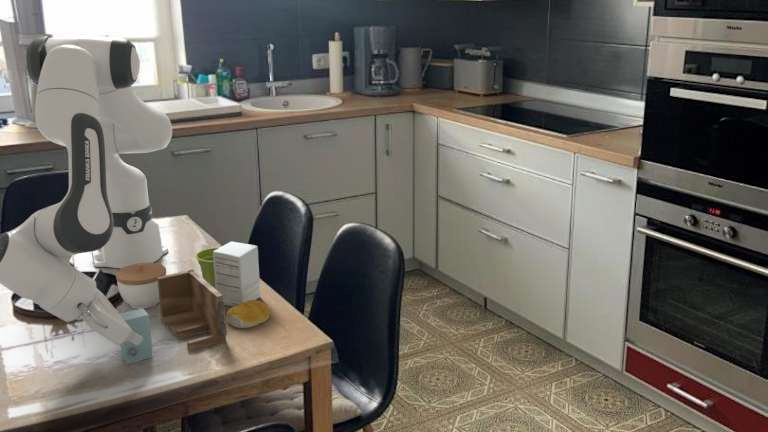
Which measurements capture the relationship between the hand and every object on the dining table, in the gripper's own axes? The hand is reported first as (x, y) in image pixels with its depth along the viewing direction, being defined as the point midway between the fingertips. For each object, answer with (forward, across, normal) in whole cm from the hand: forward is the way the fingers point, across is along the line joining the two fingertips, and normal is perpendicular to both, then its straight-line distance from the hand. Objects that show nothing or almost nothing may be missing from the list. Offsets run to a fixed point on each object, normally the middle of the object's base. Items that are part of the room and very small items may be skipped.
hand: (132, 331), depth 148 cm
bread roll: (+22, +3, -14) cm, 26 cm away
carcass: (+13, +4, -6) cm, 15 cm away
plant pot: (+23, +22, -15) cm, 35 cm away
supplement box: (+23, +13, -15) cm, 31 cm away
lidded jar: (+11, +24, -2) cm, 26 cm away
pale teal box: (+4, 0, +4) cm, 6 cm away
